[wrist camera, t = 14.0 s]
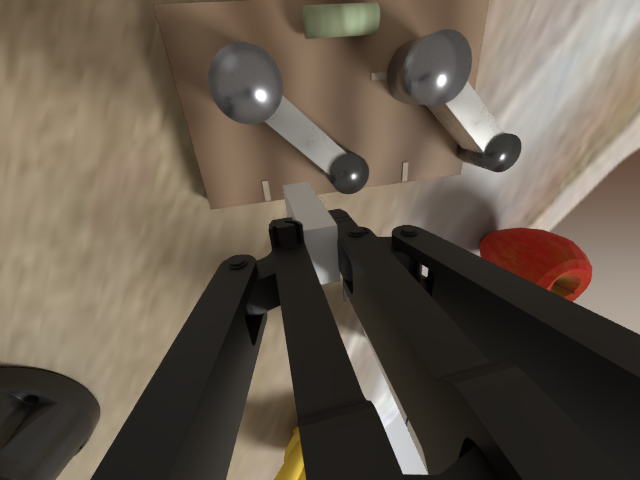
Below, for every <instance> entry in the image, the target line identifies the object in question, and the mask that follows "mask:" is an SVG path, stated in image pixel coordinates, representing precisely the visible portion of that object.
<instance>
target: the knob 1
mask: <svg viewBox="0 0 640 480" xmlns="http://www.w3.org/2000/svg"><path fill="white" fill-rule="evenodd" d="M208 83H209V89H210V92H211V95H212V98H213V100H214V102H215V103H216V105H217V106H218V108H219V109H220V110H221V111H222V112H223V113H224V114H225V115H226V116H227V117H229V118H230V119H232V120H234V121H236V122H239V123H242V124H249V125H251V124H258V123H261V122H266V123H267V124H268V125H269V126H270V127H272V128H273V129H274V130H275V131H277V132H278V133H279V134H280V135H281V136H283V137H284V138H285V139H286V140H287V141H289V142H290V143H291V144H292V145H294V146H295V147H296V148H297V149H298V150H300V151H301V152H302V153H303V154H304V155H306V156H307V157H308V158H309V159H311V160H312V161H313V162H314V163H315V164H317V165H318V166H319V167H320V168H321V171H322V173H323V174H324V176H325V177H326V178H327V179H328V180H329V182H330V183H331V184H332V185H333V186H334V188H335V189H336V190H337V191H339V192H341V193H343V194H353V193H356V192H358V191H359V190H361V189H362V188H363V187H364V186H365V184H366V183H367V181H368V178H369V167H368V164H367V162H366V161H365V160H364V159H363V158H362V157H361V156H359V155H357V154H356V153H354V152H352V151H351V150H349V149H347V148H346V147H343V146H339V145H337V144H336V143H335V142H334V141H333V140H332V139H330V138H329V137H328V136H327V135H326V134H325V133H324V132H323V131H322V130H320V129H319V128H318V127H317V126H316V125H315V124H314V123H313V122H312V121H310V120H309V119H308V118H307V117H306V116H305V115H304V114H303V113H302V112H300V111H299V110H298V109H297V108H296V107H295V106H294V105H293V104H292V103H290V102H289V101H288V100H287V99H286V98H285V97H284V96H283V95H282V94H283V82H282V77H281V73H280V71H279V68H278V66H277V64H276V63H275V61H274V60H273V58H272V57H271V56H270V55H269V54H268V53H267V52H266V51H265V50H263V49H262V48H260V47H259V46H256V45H254V44H251V43H247V42H235V43H231V44H228V45H226V46H224V47H223V48H222V49H220V50H219V51H218V52H217V53H216V55H215V56H214V58H213V60H212V62H211V65H210V68H209V74H208Z"/></svg>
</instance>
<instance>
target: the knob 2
mask: <svg viewBox="0 0 640 480" xmlns="http://www.w3.org/2000/svg"><path fill="white" fill-rule="evenodd" d="M471 67H472V52H471V48H470V45H469V43H468V41H467V39H466V38H465V37H464V36H463V35H462V34H461V33H460V32H458V31H456V30H452V29H444V30H440V31H437V32H434V33H431V34H428V35H426V36H423V37H420V38H417V39H414V40H411V41H408V42H406V43H405V44H403V45H402V46H401V47H399V48H398V49H397V51H396V52H395V53H394V55H393V57H392V58H391V61H390V63H389V67H388V72H387V81H388V86H389V89H390V92H391V93H392V95H393V96H394V97H395V98H396V99H397V100H398V101H400V102H402V103H405V104H417V105H426V106H427V107H428V108H429V109H430V110H431V112H432V113H433V114H434V115H435V116H436V118H437V119H438V120H439V121H440V122H441V124H442V125H443V126H444V127H445V128H446V130H447V131H448V132H449V133H450V134H451V136H452V137H453V138H454V139H455V140H456V142H457V143H458V145H457V155H458V157H459V159H460V160H461V161H463V162H466V163H469V164H473V165H476V166H479V167H482V168H485V169H488V170H491V171H494V172H503V171H505V170H507V169H509V168H510V167H511V166H512V165H513V164H514V163H515V162H516V161H517V159H518V157H519V155H520V152H521V141H520V139H519V138H518V137H517V136H516V135H513V134H507V133H504V132H503V131H502V129H501V128H500V126H499V125H498V123H497V122H496V121H495V119H494V118H493V116H492V115H491V113H490V112H489V111H488V109H487V108H486V106H485V105H484V104H483V102H482V101H481V99H480V98H479V96H478V95H477V94H476V92H475V91H474V89H473V88H472V86H471V85H470V84H469V82H468V78H469V75H470V72H471Z"/></svg>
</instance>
